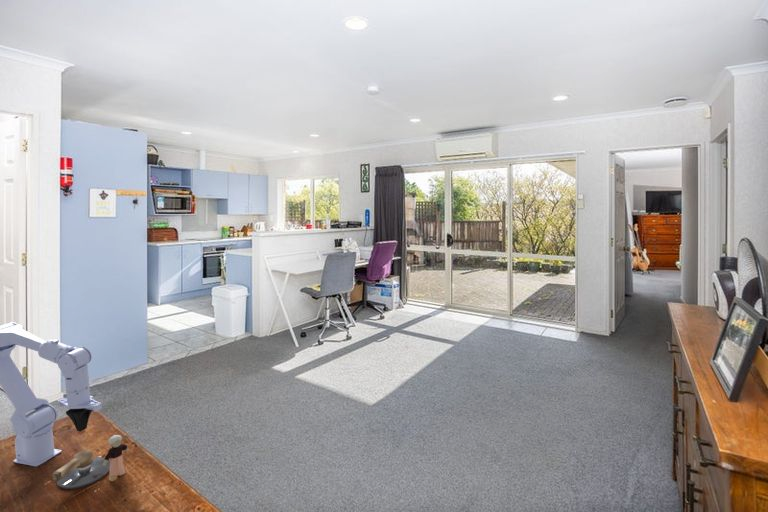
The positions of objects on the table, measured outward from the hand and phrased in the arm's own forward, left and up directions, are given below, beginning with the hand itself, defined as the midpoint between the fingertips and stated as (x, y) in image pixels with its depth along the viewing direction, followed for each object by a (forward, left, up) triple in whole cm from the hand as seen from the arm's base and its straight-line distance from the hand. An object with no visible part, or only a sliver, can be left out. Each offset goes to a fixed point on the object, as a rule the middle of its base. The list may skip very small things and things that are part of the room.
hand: (82, 429), depth 126 cm
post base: (+6, -5, -10) cm, 13 cm away
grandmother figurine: (+16, -3, -11) cm, 19 cm away
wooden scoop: (+6, -8, -7) cm, 13 cm away
